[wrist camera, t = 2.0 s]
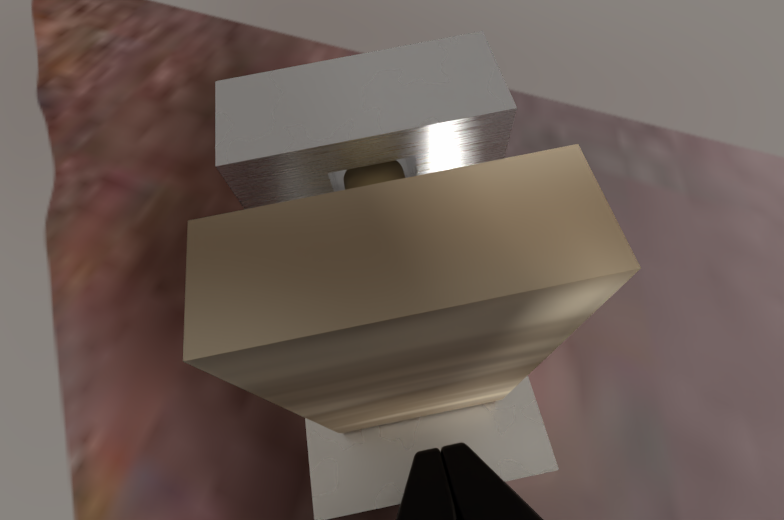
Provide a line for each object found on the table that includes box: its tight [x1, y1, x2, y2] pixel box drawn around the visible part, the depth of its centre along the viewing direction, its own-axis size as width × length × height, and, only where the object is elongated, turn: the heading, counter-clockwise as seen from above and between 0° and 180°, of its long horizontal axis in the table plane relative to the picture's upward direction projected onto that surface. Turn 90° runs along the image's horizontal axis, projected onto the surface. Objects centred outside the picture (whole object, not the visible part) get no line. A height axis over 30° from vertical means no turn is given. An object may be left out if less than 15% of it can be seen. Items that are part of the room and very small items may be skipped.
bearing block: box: [215, 31, 559, 520], centre depth 17 cm, size 15×10×10 cm
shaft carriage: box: [183, 144, 641, 434], centre depth 14 cm, size 8×7×13 cm
